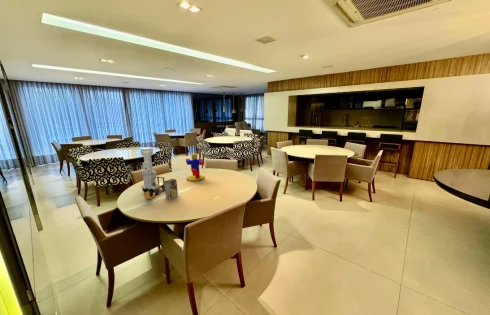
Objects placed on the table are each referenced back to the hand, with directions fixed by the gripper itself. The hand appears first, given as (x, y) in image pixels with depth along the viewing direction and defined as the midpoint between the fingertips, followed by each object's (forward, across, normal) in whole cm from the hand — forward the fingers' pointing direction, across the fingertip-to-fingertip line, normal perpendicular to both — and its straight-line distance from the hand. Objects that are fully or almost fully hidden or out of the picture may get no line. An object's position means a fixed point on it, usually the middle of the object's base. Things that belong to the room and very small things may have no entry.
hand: (149, 195), depth 175 cm
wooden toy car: (+3, -6, +14) cm, 16 cm away
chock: (+2, 0, +1) cm, 2 cm away
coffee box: (+3, +17, +10) cm, 20 cm away
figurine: (+3, +11, +60) cm, 61 cm away
